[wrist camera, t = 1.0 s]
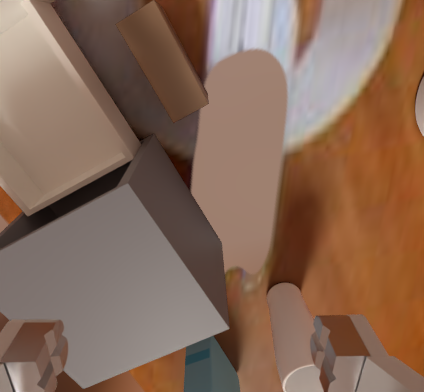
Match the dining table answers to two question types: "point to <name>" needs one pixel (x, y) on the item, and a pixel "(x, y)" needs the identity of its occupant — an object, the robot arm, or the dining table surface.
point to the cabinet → (118, 268)
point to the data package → (209, 368)
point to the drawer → (52, 110)
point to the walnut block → (163, 60)
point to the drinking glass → (292, 339)
